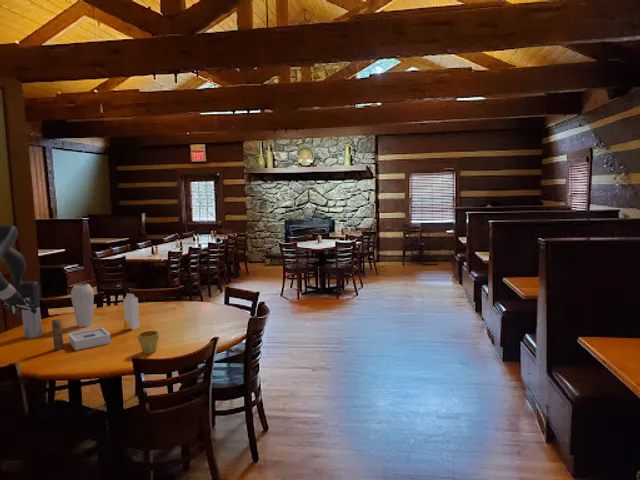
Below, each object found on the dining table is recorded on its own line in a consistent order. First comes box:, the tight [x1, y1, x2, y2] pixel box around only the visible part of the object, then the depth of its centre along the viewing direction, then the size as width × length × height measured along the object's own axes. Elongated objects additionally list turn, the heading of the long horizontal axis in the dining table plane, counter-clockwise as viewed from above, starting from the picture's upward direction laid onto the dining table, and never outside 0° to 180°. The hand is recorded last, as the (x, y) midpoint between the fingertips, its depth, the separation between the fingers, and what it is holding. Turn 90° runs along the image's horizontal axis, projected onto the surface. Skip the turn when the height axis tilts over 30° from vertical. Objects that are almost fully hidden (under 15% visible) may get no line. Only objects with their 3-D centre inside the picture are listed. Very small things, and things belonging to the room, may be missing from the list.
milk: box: [122, 293, 141, 331], centre depth 291 cm, size 6×6×22 cm
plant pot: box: [137, 330, 160, 354], centre depth 249 cm, size 10×10×10 cm
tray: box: [67, 327, 112, 351], centre depth 267 cm, size 18×18×5 cm
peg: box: [51, 318, 65, 351], centre depth 257 cm, size 4×4×16 cm
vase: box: [70, 283, 95, 328], centre depth 301 cm, size 13×13×26 cm
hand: (28, 314), depth 248 cm, fingers open, 8 cm apart
